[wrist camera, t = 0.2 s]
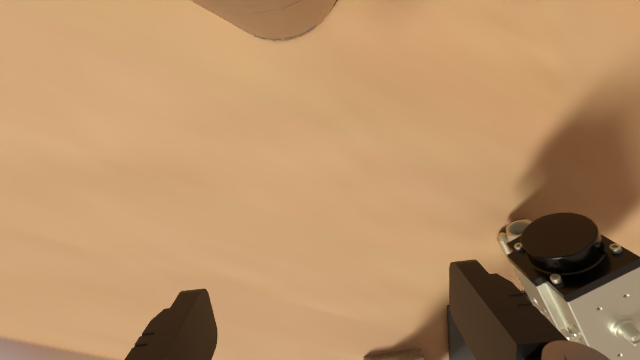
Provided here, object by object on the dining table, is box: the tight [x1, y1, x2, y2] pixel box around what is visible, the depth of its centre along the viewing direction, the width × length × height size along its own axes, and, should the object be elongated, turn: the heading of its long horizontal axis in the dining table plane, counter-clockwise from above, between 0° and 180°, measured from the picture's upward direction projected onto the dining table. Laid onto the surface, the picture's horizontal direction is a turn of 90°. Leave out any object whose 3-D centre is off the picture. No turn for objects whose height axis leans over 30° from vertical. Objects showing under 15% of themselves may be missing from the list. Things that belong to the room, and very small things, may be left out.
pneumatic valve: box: [497, 213, 640, 360], centre depth 26 cm, size 6×12×12 cm, turn 33°
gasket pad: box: [447, 293, 530, 360], centre depth 34 cm, size 8×8×1 cm
